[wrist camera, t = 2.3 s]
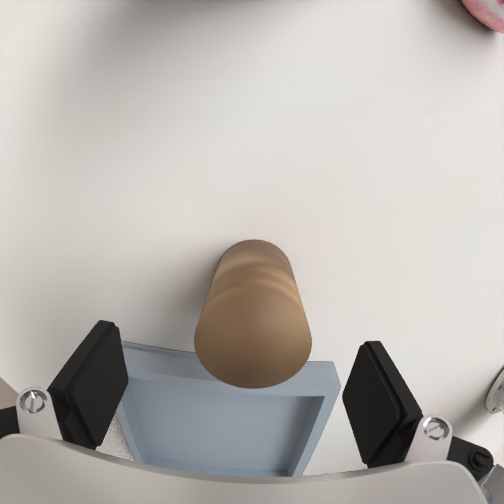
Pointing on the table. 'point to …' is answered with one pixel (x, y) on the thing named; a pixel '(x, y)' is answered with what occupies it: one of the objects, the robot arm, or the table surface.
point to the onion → (487, 12)
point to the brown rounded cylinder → (253, 319)
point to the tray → (221, 416)
